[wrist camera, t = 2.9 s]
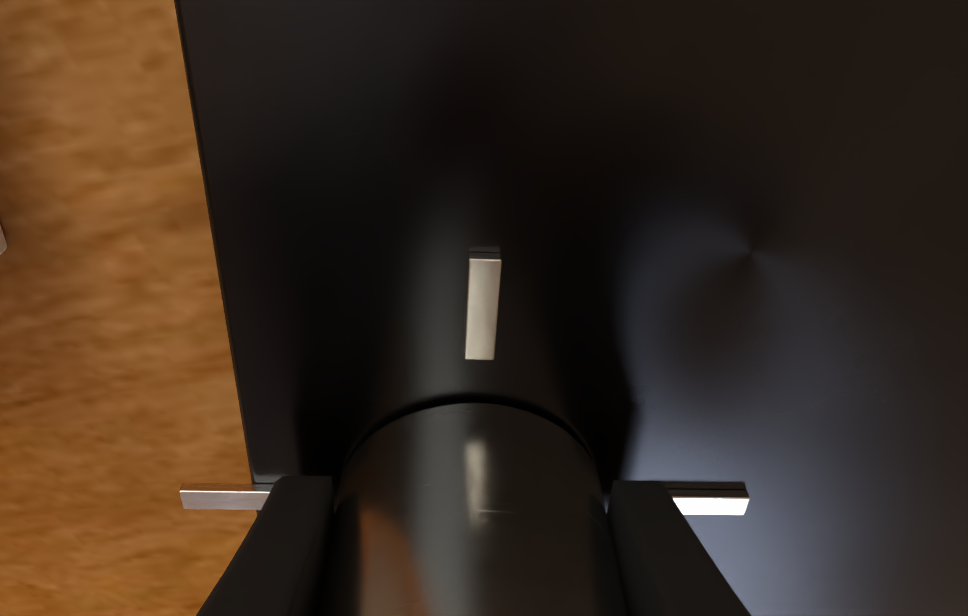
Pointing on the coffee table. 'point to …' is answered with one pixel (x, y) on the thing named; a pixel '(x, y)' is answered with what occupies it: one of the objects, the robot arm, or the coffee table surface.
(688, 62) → the stove panel
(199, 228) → the coffee table surface
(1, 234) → the igniter
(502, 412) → the stove knob
